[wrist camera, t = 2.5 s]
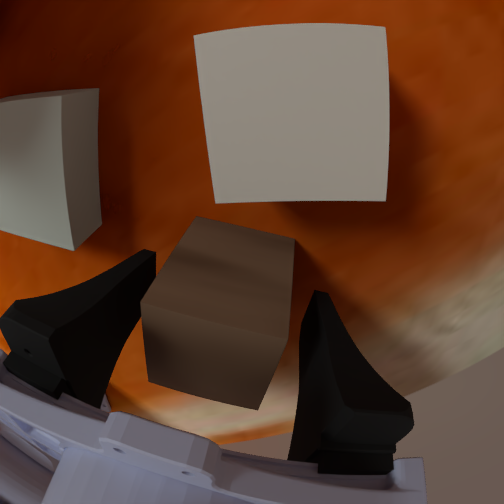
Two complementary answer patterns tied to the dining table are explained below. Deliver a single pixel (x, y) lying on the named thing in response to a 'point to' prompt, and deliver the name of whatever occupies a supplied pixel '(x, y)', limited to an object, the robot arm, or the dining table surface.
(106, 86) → the dining table surface
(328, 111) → the cream block
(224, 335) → the walnut block
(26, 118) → the sage slab
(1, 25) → the dining table surface
